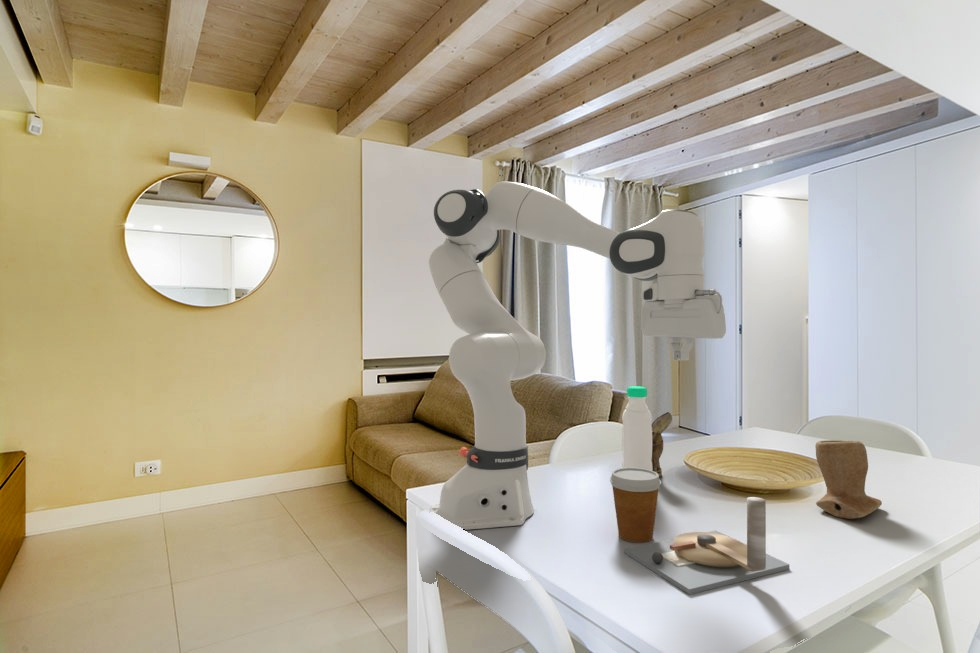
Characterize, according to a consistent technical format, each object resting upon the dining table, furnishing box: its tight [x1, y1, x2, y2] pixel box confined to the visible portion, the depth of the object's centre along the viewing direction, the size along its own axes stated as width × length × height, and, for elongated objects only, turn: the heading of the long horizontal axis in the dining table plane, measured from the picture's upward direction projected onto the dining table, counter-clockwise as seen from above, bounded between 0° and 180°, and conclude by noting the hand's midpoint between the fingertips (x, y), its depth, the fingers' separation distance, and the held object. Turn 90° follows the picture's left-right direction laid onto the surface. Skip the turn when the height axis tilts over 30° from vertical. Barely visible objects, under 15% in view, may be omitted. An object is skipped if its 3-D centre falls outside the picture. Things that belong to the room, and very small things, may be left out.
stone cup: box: [815, 439, 883, 519], centre depth 119 cm, size 15×12×15 cm
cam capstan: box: [670, 496, 767, 572], centre depth 92 cm, size 17×13×12 cm
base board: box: [624, 529, 790, 595], centre depth 94 cm, size 21×16×3 cm
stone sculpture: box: [651, 411, 673, 478], centre depth 145 cm, size 9×14×18 cm, turn 27°
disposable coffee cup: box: [609, 467, 662, 543], centre depth 105 cm, size 10×10×12 cm
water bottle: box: [621, 385, 653, 471], centre depth 133 cm, size 7×7×25 cm
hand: (680, 360), depth 110 cm, fingers closed
